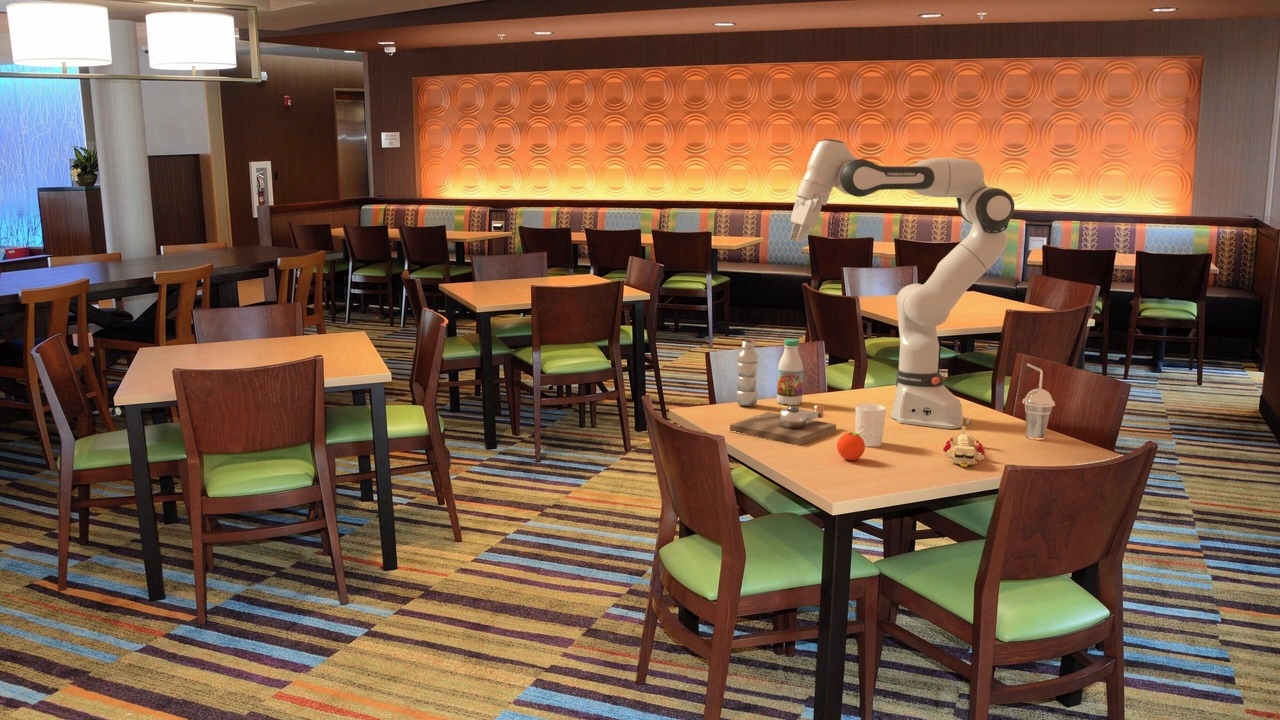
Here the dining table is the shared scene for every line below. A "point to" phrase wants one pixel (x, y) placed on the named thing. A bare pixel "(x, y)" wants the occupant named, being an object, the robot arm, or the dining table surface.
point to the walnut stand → (782, 429)
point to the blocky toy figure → (963, 448)
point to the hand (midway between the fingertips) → (795, 240)
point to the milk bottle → (790, 374)
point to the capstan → (799, 416)
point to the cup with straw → (1037, 409)
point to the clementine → (851, 446)
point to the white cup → (870, 423)
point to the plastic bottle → (747, 375)
